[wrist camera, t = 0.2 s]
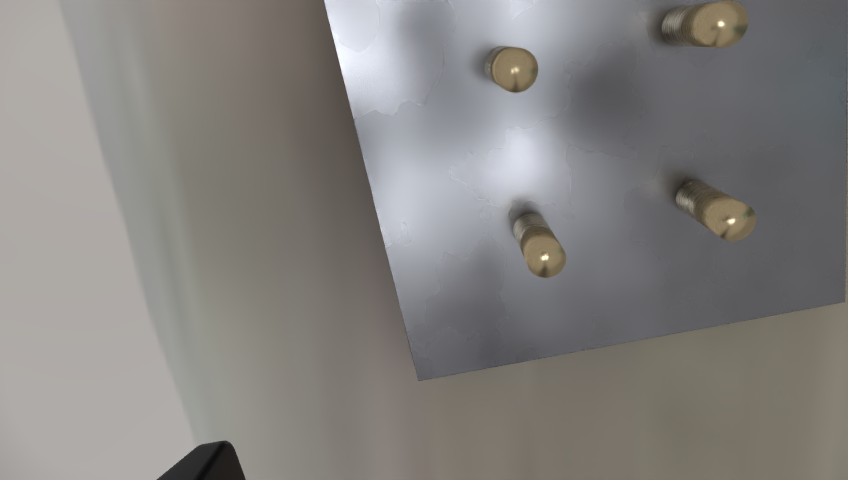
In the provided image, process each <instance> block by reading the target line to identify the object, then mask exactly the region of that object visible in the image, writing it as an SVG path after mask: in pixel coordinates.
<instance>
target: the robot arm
mask: <svg viewBox="0 0 848 480" xmlns="http://www.w3.org/2000/svg"><path fill="white" fill-rule="evenodd" d="M157 480H246V479H245V476H244V473H243V471H242V468H241V465H240V463H239V460H238V457H237V454H236V452H235V449H234V447H233V446H232V444H231V443H230V442H228V441H219V442H213V443H207V444H202V445H199V446H197V447H196V448H195V449H194V450H193V451H191V452H190V453H189V454H188V455H186V456H185V457H184V458H183V459H181V460H180V461H179V462H178V463H176V464H175V465H174V466H173V467H172V468H170V469H169V470H168V471H167V472H165V473H164V474H163V475H162V476H161V477H159V478H158V479H157Z"/></svg>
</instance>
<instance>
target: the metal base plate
mask: <svg viewBox="0 0 848 480" xmlns="http://www.w3.org/2000/svg"><path fill="white" fill-rule="evenodd" d="M324 2H325V6H326V10H327V14H328V18H329V22H330V26H331V30H332V34H333V38H334V42H335V46H336V50H337V54H338V59H339V63H340V67H341V71H342V75H343V79H344V83H345V87H346V91H347V95H348V99H349V103H350V107H351V111H352V115H353V119H354V123H355V127H356V131H357V135H358V139H359V143H360V147H361V151H362V155H363V159H364V163H365V167H366V171H367V175H368V179H369V183H370V187H371V191H372V195H373V199H374V204H375V208H376V212H377V216H378V220H379V224H380V228H381V232H382V236H383V240H384V244H385V248H386V252H387V256H388V260H389V264H390V268H391V272H392V276H393V280H394V284H395V288H396V292H397V296H398V300H399V304H400V308H401V312H402V316H403V320H404V324H405V328H406V332H407V336H408V340H409V344H410V349H411V353H412V357H413V361H414V365H415V369H416V373H417V377H418V381H422V380H427V379H432V378H438V377H443V376H448V375H454V374H459V373H465V372H470V371H475V370H481V369H486V368H492V367H497V366H502V365H508V364H513V363H519V362H524V361H529V360H535V359H540V358H545V357H551V356H556V355H562V354H567V353H572V352H578V351H583V350H589V349H594V348H599V347H605V346H610V345H616V344H621V343H626V342H632V341H637V340H643V339H648V338H653V337H659V336H664V335H669V334H675V333H680V332H686V331H691V330H696V329H702V328H707V327H713V326H718V325H723V324H729V323H734V322H740V321H745V320H750V319H756V318H761V317H767V316H772V315H777V314H783V313H788V312H793V311H799V310H804V309H810V308H815V307H820V306H826V305H831V304H837V303H842V302H845V268H846V162H847V57H848V0H324Z"/></svg>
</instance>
